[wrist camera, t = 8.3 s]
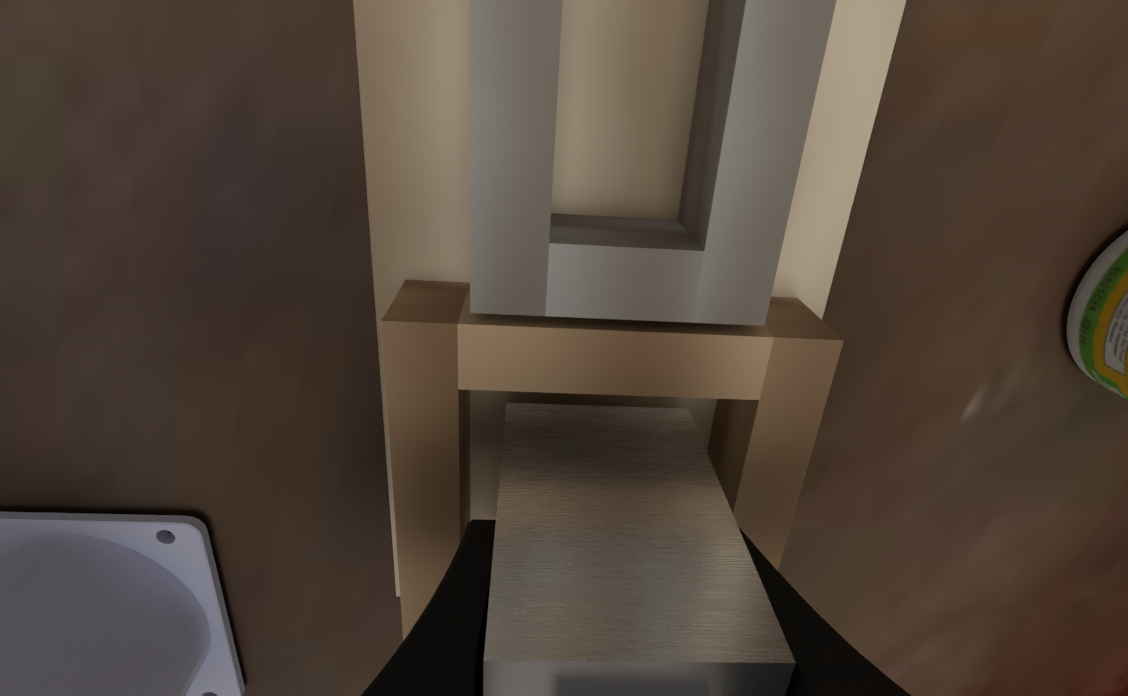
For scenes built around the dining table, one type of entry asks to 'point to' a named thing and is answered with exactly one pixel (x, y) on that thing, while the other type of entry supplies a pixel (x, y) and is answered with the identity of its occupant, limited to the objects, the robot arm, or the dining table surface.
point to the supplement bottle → (1103, 319)
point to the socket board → (607, 233)
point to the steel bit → (622, 564)
